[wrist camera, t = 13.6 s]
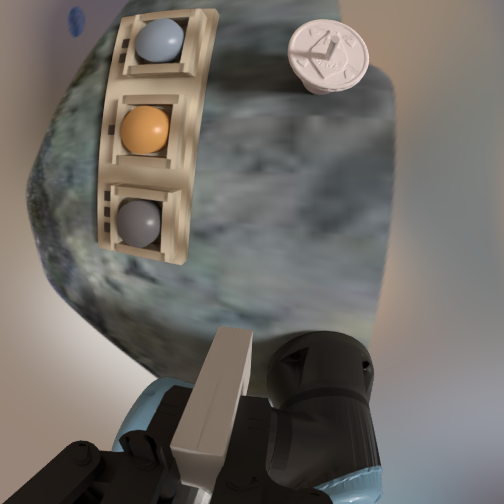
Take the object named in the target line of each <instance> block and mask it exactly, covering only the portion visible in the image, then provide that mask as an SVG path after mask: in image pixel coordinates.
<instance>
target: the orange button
mask: <svg viewBox="0 0 504 504" xmlns="http://www.w3.org/2000/svg"><path fill="white" fill-rule="evenodd" d="M170 125H171V117H170V115H169V114H168V113H167V112H166V111H164V110H162V109H159V108H154V107H150V106H140V107H137V108H135V109H133V110H132V111H131V112H130V113H129V114H128V115H127V116H126V117H125V119H124V121H123V124H122V128H121V136H122V141H123V143H124V145H125V146H126V148H127V149H128V150H129V151H131V152H133V153H136V154H149V153H157V152H159V151H161V150H163V149H164V148H166V147H167V146H168V141H169V133H170Z"/></svg>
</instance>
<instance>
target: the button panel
mask: <svg viewBox="0 0 504 504" xmlns="http://www.w3.org/2000/svg"><path fill="white" fill-rule="evenodd" d="M161 18H166V19H171V20H173V21H174V22H176V23H177V24H178V25H179V26H180V27H181V28H182V29H183V30H184V31H185V32H186V36H185V40H184V45H183V50H182V55H181V57H180V58H179V59H178V60H176V61H174V62H173V63H167V64H154V63H152V62H150V61H148V60H146V59H144V58H142V57H141V56H140V55H139V54H138V53H137V51H136V46H135V45H136V39H137V36H138V34H139V32H140V31H141V30H142V29H143V28H144V27H145V26H146V25H147V24H148V23H150V22H152V21H154V20H157V19H161ZM218 20H219V14H218V12H217V11H216V9H185V10H172V11H162V12H154V13H146V14H139V15H136V16H130V17H124V18H122V20H121V24H120V28H119V31H118V35H117V40H116V44H115V48H114V53H113V58H112V63H111V68H110V73H109V79H108V85H107V91H106V98H105V105H104V112H103V121H102V130H101V141H100V154H99V171H98V247H99V248H103V249H107V250H112V251H117V252H121V253H126V254H130V255H135V256H140V257H145V258H149V259H154V260H159V261H164V262H169V263H174V264H179V265H183V263H184V262H185V261H186V260H187V258H188V243H189V230H190V217H191V206H192V195H193V185H194V176H195V166H196V158H197V149H198V141H199V133H200V126H201V119H202V112H203V105H204V98H205V92H206V85H207V79H208V73H209V67H210V62H211V56H212V51H213V45H214V40H215V35H216V30H217V25H218ZM140 106H150V107H154V108H159V109H162V110H164V111H166V112H167V113H168V114H169V115H170V117H171V125H170V133H169V141H168V146H167V147H166V148H164V149H163V150H161V151H159V152H157V153H149V154H136V153H133V152H131V151H129V150H128V149H127V148H126V146H125V145H124V143H123V141H122V136H121V128H122V124H123V121H124V119H125V117H126V116H127V115H128V114H129V113H130V112H131V111H132V110H133V109H135V108H137V107H140ZM140 198H142V199H149V200H154V201H155V202H157V203H158V204H159V205H160V206H161V208H162V209H163V210H162V229H161V235H160V236H159V237H158V238H157V239H155V240H154V241H153V242H151V243H150V244H149V245H147V246H145V247H141V248H136V247H132V246H130V245H128V244H127V243H126V242H125V241H124V240H123V239H122V238H121V237H120V235H119V233H118V230H117V225H116V219H117V215H118V212H119V210H120V209H121V208H122V207H123V206H124V205H125V204H127V203H130V202H132V201H135V200H137V199H140Z"/></svg>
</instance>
